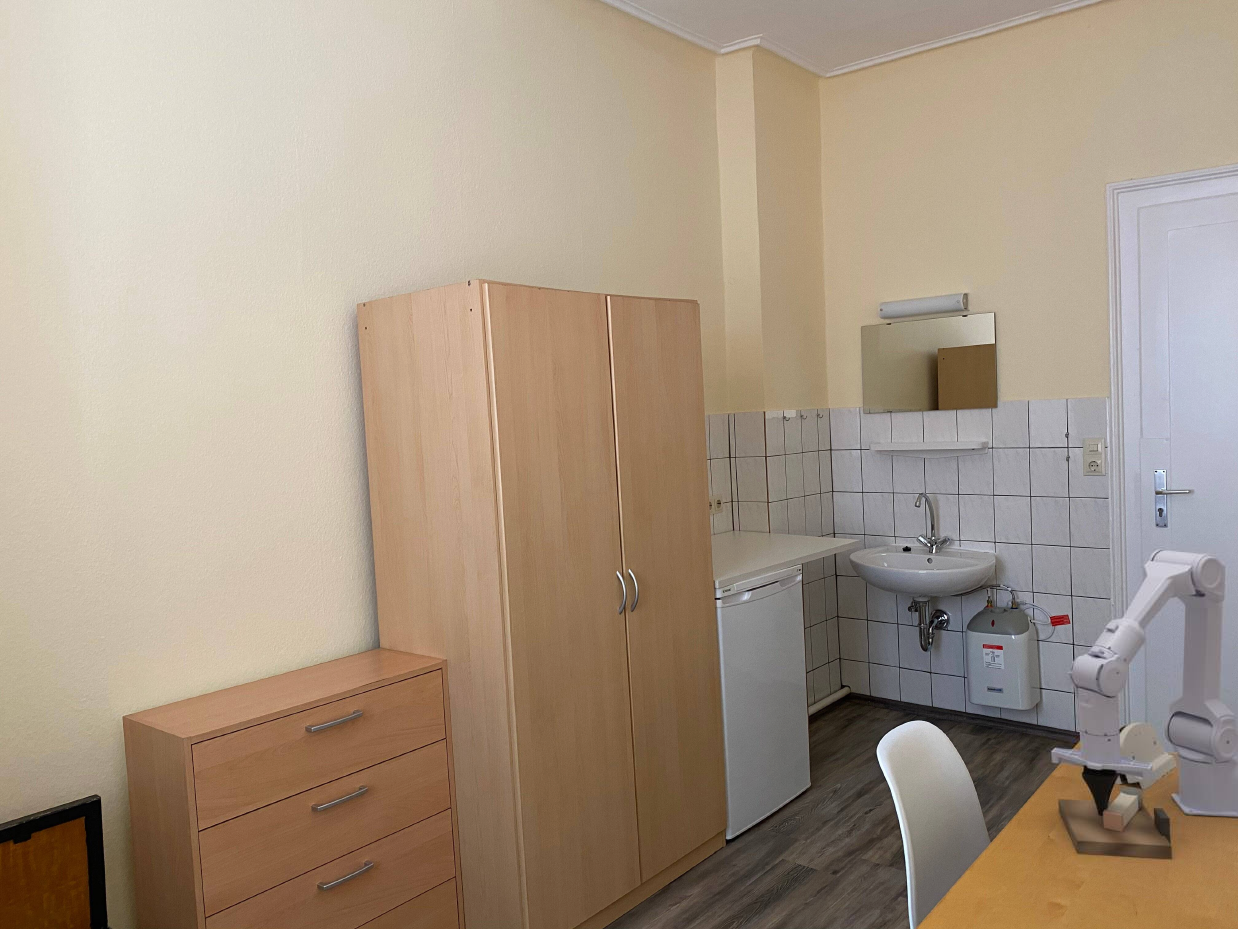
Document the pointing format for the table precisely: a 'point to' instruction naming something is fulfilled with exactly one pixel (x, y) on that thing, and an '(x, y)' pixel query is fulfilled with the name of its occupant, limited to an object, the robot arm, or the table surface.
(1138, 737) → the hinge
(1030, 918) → the table surface
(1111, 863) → the table surface
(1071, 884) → the table surface
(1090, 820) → the stool seat
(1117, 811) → the folding leg
